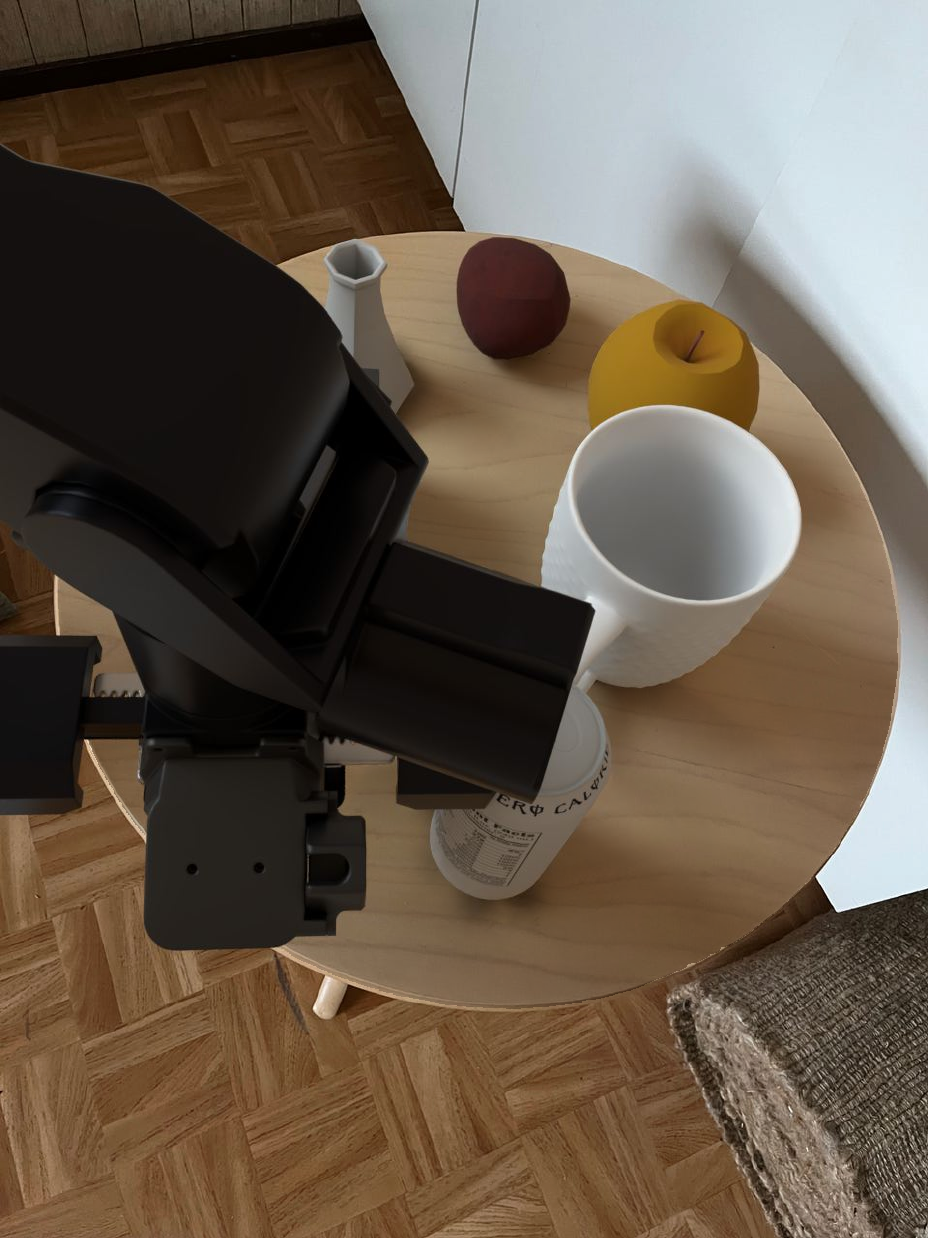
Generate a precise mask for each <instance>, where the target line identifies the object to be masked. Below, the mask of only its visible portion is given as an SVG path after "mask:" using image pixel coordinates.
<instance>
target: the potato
mask: <svg viewBox="0 0 928 1238" xmlns="http://www.w3.org/2000/svg"><path fill="white" fill-rule="evenodd" d="M455 291H456V304H457V305H456V306H457V312H458V315H459V318H460V321H461V324H462V327H463V329H464V331H465V333H466V335H467V337H468V338H469V340H470V341H471V343H472V344H473V345H474V347H476V348H477V350H479V351H480V352H481V353H482V354H483V355H485V356H487V357H489V358H491V359H493V360H501V361H512V360H516V359H520V358H526V357H530V356H531V357H532V356H534V355H535V354H537V353H539V352H540V351H542V350H544V349H546V348H547V347H549V346H551V345H552V344H553V342H554V341H555V340H556V339H557V338H558V337H559V335H560V334H561V333H562V332H563V330H564V329H565V327H566V325H567V322H568V317H569V313H570V309H571V308H570V307H571V300H572V299H571V294H570V291H569V287H568V283H567V279H566V275H565V272H564V270H563V268H561V266H560V265H559V264H558V262H557V261H556V259H555V258H554V257H553V255H552V254H551V253H550V252H548V251H546V250H545V249H543V248H542V247H540V246H539V245H537V244H536V243H532V242H529V241H525V240H522V239H519V238H515V237H505V236H504V237H501V236H495V237H494V236H492V237H488V238H485V239H481V240H480V241H478V242H476V243H475V244H474V245H472V246H471V247H469V248H468V250H467V251H466V253H465V255H464V256H463V258H462V260H461V263H460V266H459V267H458V273H457V278H456V289H455Z"/></svg>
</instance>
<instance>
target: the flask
mask: <svg viewBox="0 0 928 1238" xmlns="http://www.w3.org/2000/svg"><path fill="white" fill-rule="evenodd" d="M378 248H379V247H377V246H375V245H372V244H370V243H368V242H366V241H364V240H361V239H358V238H352V239H349V240H346V241H342V242H339V243H334V245H333V247H331V249H329V251H328V253H327V254H326V255H325V256H324V258H323V265H324V268H326V270H327V272H328V273H329V278H328V279H329V280H328V282H329V287H328V292H327V296H326V299H325V303H324V309H325V310H326V311H327V313H328V314H329V315H330V317H331V318H332V320H333V321H334V323H335V324H336V326H337V327H338V328H339V330H340V331H341V334H342V337H343V338H342V343H343V344H344V346H345V347H346V348H347V350H348V351H349V352H350V354H351V355H352V357H353V358H354V359H355V361H356V362H357V363H358V365H359V366H360V367H361V368H370V369H379V388H380V389H381V390H382V391H383V392H384V393H385V394H386V395H387V396H388V397H389V398H390V399H391V400H392V404H391V406H390V407H391V409H392V410H393V411H394V413H395V414H396V415H397V412H398V411H399V409H400V408H401V406H402V405H403V403H404V402H405V400H406V398H407V397H408V395H409V394H410V393H411V391H412V389H413V388H414V386H415V383H414V380H413V377H412V376H411V373H410V371H409V368H408V366H407V364H406V362H405V360H404V357H403V355H402V353H401V351H400V349H399V346H398V344H397V342H396V339H395V336H394V334H393V332H392V329H391V327H390V324H389V321H388V319H387V317H386V313H385V309H384V302H383V298H382V292H381V280H382V276H383V274H384V273H385V271H387V268H388V262H387V260H386V258H385V257H384V256H383V254H382V253H381V251H380V250H379V249H378Z"/></svg>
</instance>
